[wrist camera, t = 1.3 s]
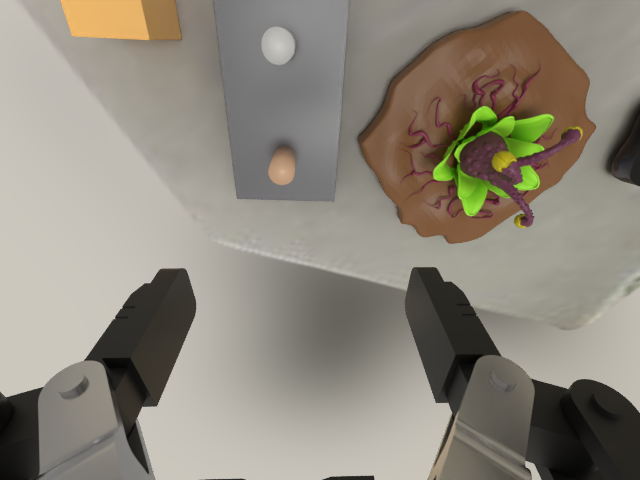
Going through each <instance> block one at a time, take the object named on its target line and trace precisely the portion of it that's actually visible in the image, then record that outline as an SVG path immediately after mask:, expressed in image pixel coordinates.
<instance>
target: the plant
mask: <svg viewBox="0 0 640 480" xmlns="http://www.w3.org/2000/svg"><path fill="white" fill-rule="evenodd" d="M589 85H590V82H589V78H588V76H587V74H586V73H585V71H584V70H583V69H582V68H580V67H579V66H578V65H577V64H576V62H575V61H574V60H573V59H572V58H571V56H570V55H569V54H568V53H567V52H566V50H565V49H564V48H563V47H562V46H561V45H560V43H559V42H558V41H557V40H556V39H555V38H554V37H553V35H552V34H551V33H550V32H549V30H548V29H547V28H546V27H545V26H544V25H543V24H541V23H540V22H539V21H538V20H537V19H535V18H534V17H533V16H532V15H531V14H529V13H528V12H525V11H516V12H508V13H505V14H503V15H501V16H499V17H497V18H494V19H492V20H490V21H489V22H486V23H484V24H482V25H480V26H477V27H474V28H471V29H462V30H458V31H454V32H452V33H450V34H448V35H446V36H444V37H443V38H441V39H439V40H437V41H436V42H434V43H433V44H432V45H430V46H429V47H428V48H427V49H426V50H425V51H424V52H423V53H422V54H421V55H419V56H418V57H417V58H416V59H415V60H414V61H413V62H412V63H411V64H410V65H408V66H407V67H406V68H405V69H404V70H403V71H402V72H400V73H399V74H398V75H397V76H396V77H395V78H394V79H393V80H392V82H391V83H390V85H389V88H388V91H387V95H386V98H385V101H384V104H383V106H382V108H381V110H380V111H379V113H378V114H377V116H376V117H375V118H374V120H373V121H372V122H371V124H370V125H369V126H368V127H367V129H366V130H365V131H364V132H363V133H362V134H361V135H360V136H359V137H358V141H359V144H360V147H361V150H362V154H363V156H364V159H365V161H366V162H367V164H368V165H369V166H370V168H371V169H372V170H373V171H374V172H375V174H376V175H377V176H378V179H379V182H380V184H381V186H382V188H383V190H384V192H385V193H386V195H387V196H388V197H389V198H390V199H391V200H392V201H393V202H394V203H395V204H396V205H397V207H398V217H399V219H400V222H401V223H402V224H409V225H412V226H413V227H415V229H416V231H417V233H418V234H419V235H420V236H422V237H430V236H436V235H443V236H444V238H445V239H446V241H447V242H448V243H450V244H453V243H462V242H467V241H471V240H474V239H477V238H479V237H481V236H483V235H485V234H486V233H487V232H489V231H490V230H492V229H493V228H494V227H496V226H497V225H498V224H500V223H501V222H503V221H504V220H506V219H507V218H509V217H510V216H512V215H513V214H515V213H517V212H518V211H520V210H523V212H524V213H525V214H520V215H518V216H516V217H515V219H514V223H515V224H516V226H517V227H519V228H525V227H529V226H530V225H531V224H532V223H533V218H534V216H532V215H533V213H531V212H532V210H530V208H529V205H528V204H529V203H530V202H532V201H533V200H534V199H535V198H536V197H537V196H539V195H540V194H541V193H542V192H543V191H545V190H547V189H548V188H550V187H552V186H554V185H555V184H557V183H558V182H559V181H560V180H561V179H562V177H563V175H564V174H565V173H566V172H567V171H568V170H569V169H570V168H571V167H572V166H573V164H574V163H575V162H576V161H577V160H578V158H579V157H580V155H581V153H582V151H583V148H584V146H585V144H586V142H587V141H588V139H589V138H590V136H591V135H592V133H593V132H594V131H595V129H596V125H595V124H594V123H593V122H591V121H590V120H589V119H588V118H587V116H586V111H585V102H586V96H587V92H588V89H589Z"/></svg>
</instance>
